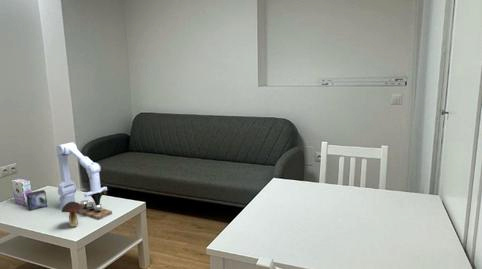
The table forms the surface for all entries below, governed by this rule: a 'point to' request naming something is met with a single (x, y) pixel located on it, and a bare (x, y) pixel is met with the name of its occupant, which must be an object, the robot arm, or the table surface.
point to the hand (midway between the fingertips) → (97, 204)
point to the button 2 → (97, 207)
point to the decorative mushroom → (72, 212)
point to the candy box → (21, 191)
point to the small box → (36, 200)
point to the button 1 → (84, 203)
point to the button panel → (94, 213)
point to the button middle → (90, 205)
